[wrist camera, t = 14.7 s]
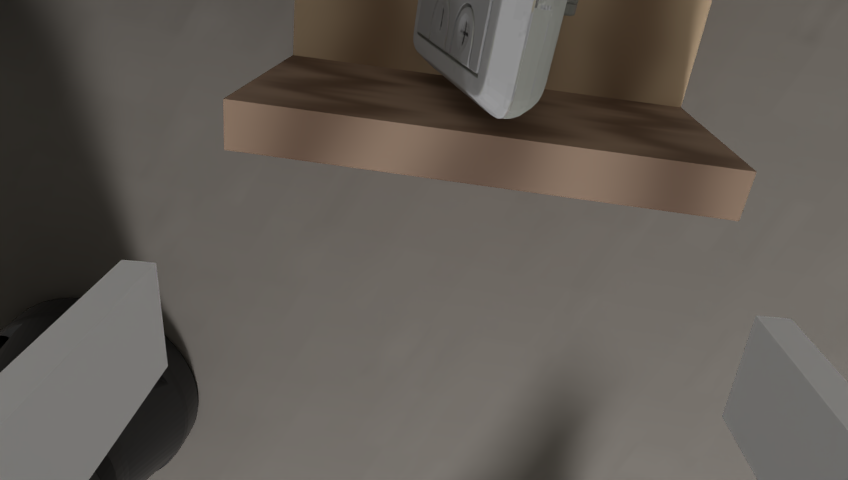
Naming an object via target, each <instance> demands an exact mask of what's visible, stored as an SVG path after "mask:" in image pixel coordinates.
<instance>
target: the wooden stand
mask: <svg viewBox="0 0 848 480" xmlns="http://www.w3.org/2000/svg"><path fill="white" fill-rule="evenodd" d="M711 3H712V0H578V4H577V8H576V12H575V15H574V16H565V15H564V16H563V20H562V24H561V28H560V32H559V36H558V40H557V44H556V47H555V51H554V55H553V59H552V63H551V67H550V71H549V75H548V78H547V82H546V86H545V89H544V91H543V94H542V96H541V98H540V99H539V101H538V102H537V103H536V104H535V105H534V106H533V107H532V108H531V109H529V110H528V111H526V112H525V113H523V114H522V115H520V116H518V117H515V118H511V119H498V118H495V117H493V116H492V115H490V114H489V113H488V112H486V111H485V110H483V109H482V108H481V107H480V106H479V105H477V104H476V103H475V102H474V101H473V100H472V99H470V98H469V97H468V96H467V95H466V94H464V93H463V92H462V91H461V90H460V89H458V88H457V87H456V86H455V85H454V84H452V83H451V82H450V81H449V80H448V79H446V78H445V77H444V76H443V75H442V74H440V73H439V72H438V71H437V70H436V69H435V68H433V67H432V66H431V65H430V64H429V63H428V62H427V61H426V60H425V59H424V58H423V57H422V56H421V55H420V54H419V53H418V52H417V50H416V49H415V46H414V42H413V36H414V26H415V19H416V12H417V5H418V0H295V11H294V45H293V56H291V57H289V58H288V59H286V60H285V61H283V62H281V63H280V64H278V65H277V66H275V67H273V68H272V69H270V70H269V71H267V72H265V73H264V74H262V75H261V76H259V77H257V78H256V79H254V80H253V81H251V82H249V83H248V84H246V85H245V86H243V87H241V88H240V89H238V90H237V91H235V92H233V93H232V94H230V95H229V96H227V97H225V98H224V99H223V107H224V150H230V151H237V152H244V153H251V154H259V155H266V156H273V157H280V158H287V159H295V160H302V161H309V162H316V163H323V164H331V165H338V166H345V167H352V168H359V169H367V170H374V171H381V172H388V173H395V174H403V175H410V176H417V177H424V178H431V179H439V180H446V181H453V182H460V183H468V184H475V185H482V186H489V187H496V188H504V189H511V190H518V191H525V192H532V193H540V194H547V195H554V196H561V197H568V198H576V199H583V200H590V201H597V202H604V203H612V204H619V205H626V206H633V207H640V208H648V209H655V210H662V211H669V212H676V213H684V214H691V215H698V216H705V217H713V218H720V219H727V220H734V221H739V220H740V217H741V214H742V211H743V209H744V206H745V203H746V200H747V198H748V195H749V192H750V189H751V186H752V184H753V181H754V178H755V175H756V171H755V170H754V169H753V168H751V167H750V166H749V165H748V164H747V163H746V162H744V161H743V160H742V159H741V158H740V157H739V156H737V155H736V154H735V153H734V152H733V151H731V150H730V149H729V148H728V147H727V146H726V145H724V144H723V143H722V142H721V141H720V140H719V139H717V138H716V137H715V136H714V135H713V134H711V133H710V132H709V131H708V130H707V129H706V128H704V127H703V126H702V125H701V124H700V123H698V122H697V121H696V120H695V119H694V118H693V117H691V116H690V115H689V114H688V113H687V112H686V111H684V110H683V109H682V108H681V105H682V102H683V98H684V95H685V91H686V88H687V85H688V81H689V78H690V74H691V71H692V67H693V64H694V61H695V57H696V54H697V50H698V47H699V44H700V40H701V37H702V33H703V30H704V26H705V23H706V20H707V16H708V13H709V9H710V6H711Z"/></svg>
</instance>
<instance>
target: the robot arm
mask: <svg viewBox="0 0 848 480" xmlns="http://www.w3.org/2000/svg"><path fill="white" fill-rule="evenodd" d="M197 411H198V394H197V388H196V384H195V381H194V378H193V375H192V373H191V371H190V369H189V367H188V365H187V363H186V361H185V360H184V358H183V357H182V355H181V354H180V353H179V351H178V350H177V349H176V348H175V346H174V345H173V344H172V343H171V342H170V341H169V340H168V339H167V338H166V337H165V336H164V328H163V319H162V310H161V301H160V293H159V284H158V275H157V266H156V263H154V262H143V261H131V260H121V261H120V262H119V263H117V264H116V265H115V266H114V267H113V268H112V269H111V270H110V271H109V272H108V273H107V274H106V275H105V276H104V277H102V278H101V279H100V280H99V281H98V282H97V283H96V284H95V285H94V286H93V287H92V288H91V289H90V290H88V291H87V292H86V293H85V294H84V295H83V296H82V297H81V298H80V299H78V298H65V299H56V300H51V301H47V302H43V303H40V304H38V305H36V306H33V307H31V308H30V309H28V310H26V311H25V312H23V313H22V314H21V315H19V316H18V317H17V318H16V319H15V320H13V321H12V322H11V323H10V324H8V325H7V326H6V327H5V328H4V329H3V330H1V331H0V480H147V479H148V478H149V477H150V476H151V475H152V474H154V473H155V472H156V471H158V470H159V469H161V468H162V467H164V466H165V465H166V464H167V463H168V462H169V461H170V460H171V459H172V458H173V457H174V456H175V455H176V453H177V452H178V451H179V449H180V448H181V446H182V444H183V443H184V441H185V439H186V438H187V436H188V434H189V433H190V431H191V429H192V427H193V425H194V423H195V420H196V416H197ZM722 417H723V419H724V421H725V422H726V424H727V426H728V428H729V430H730V431H731V433H732V435H733V437H734V439H735V440H736V442H737V444H738V446H739V448H740V449H741V451H742V453H743V455H744V457H745V458H746V460H747V462H748V464H749V466H750V467H751V469H752V471H753V473H754V475H755V476H756V478H757V480H848V382H847V381H846V380H845V379H844V377H843V376H842V375H841V374H840V373H839V372H838V371H837V369H836V368H835V367H834V366H833V365H832V364H831V363H830V362H829V360H828V359H827V358H826V357H825V356H824V355H823V354H822V353H821V351H820V350H819V349H818V348H817V347H816V346H815V345H814V344H813V342H812V341H811V340H810V339H809V338H808V337H807V336H806V334H805V333H804V332H803V331H802V330H801V329H800V328H799V327H798V325H797V324H796V323H795V322H794V321H793V320H792V319H790V318H778V317H767V316H756V317H755V320H754V323H753V326H752V329H751V332H750V335H749V338H748V341H747V344H746V347H745V350H744V353H743V355H742V358H741V361H740V364H739V367H738V370H737V373H736V376H735V379H734V382H733V385H732V388H731V391H730V394H729V397H728V400H727V403H726V406H725V409H724V412H723V415H722Z"/></svg>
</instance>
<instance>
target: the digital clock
mask: <svg viewBox="0 0 848 480" xmlns="http://www.w3.org/2000/svg"><path fill="white" fill-rule="evenodd" d="M577 4H578V0H418V5H417V12H416V19H415V26H414V36H413V42H414V46H415V49H416V50H417V52H418V53H419V54H420V55H421V56H422V57H423V58H424V59H425V60H426V61H427V62H428V63H429V64H430V65H431V66H432V67H433V68H435V69H436V70H437V71H438V72H439V73H440V74H442V75H443V76H444V77H445V78H446V79H448V80H449V81H450V82H451V83H452V84H454V85H455V86H456V87H457V88H458V89H460V90H461V91H462V92H463V93H464V94H466V95H467V96H468V97H469V98H470V99H472V100H473V101H474V102H475V103H476V104H477V105H479V106H480V107H481V108H482V109H483V110H485V111H486V112H488V113H489V114H490V115H492V116H493V117H495V118H498V119H511V118H515V117H518V116H520V115H522V114H523V113H525V112H526V111H528V110H529V109H531V108H532V107H533V106H534V105H535V104H536V103H537V102H538V101H539V99H540V98H541V96H542V94H543V91H544V89H545V86H546V82H547V78H548V75H549V71H550V67H551V63H552V59H553V55H554V51H555V47H556V44H557V40H558V36H559V32H560V28H561V24H562V20H563V16H564V15H565V16H574V15H575V12H576V8H577Z"/></svg>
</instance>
